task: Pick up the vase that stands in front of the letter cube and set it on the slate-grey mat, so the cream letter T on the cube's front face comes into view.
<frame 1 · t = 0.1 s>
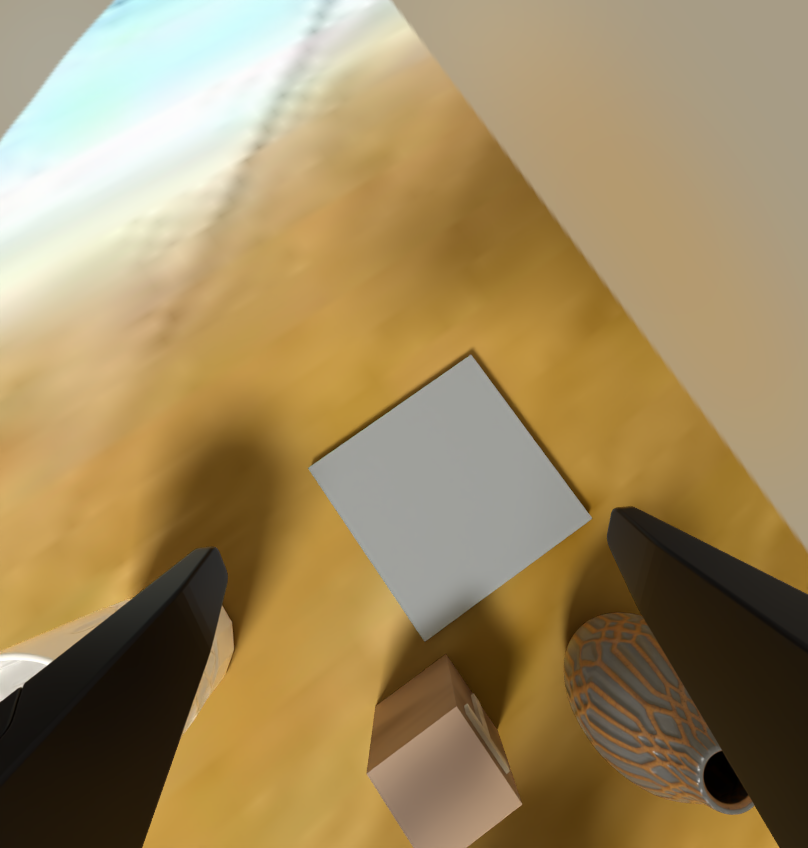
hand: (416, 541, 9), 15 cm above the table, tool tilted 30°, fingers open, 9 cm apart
letter cube: (436, 716, 23), on the table
vase: (605, 656, 23), on the table
white cup: (180, 640, 23), on the table
grey mat: (447, 492, 24), on the table
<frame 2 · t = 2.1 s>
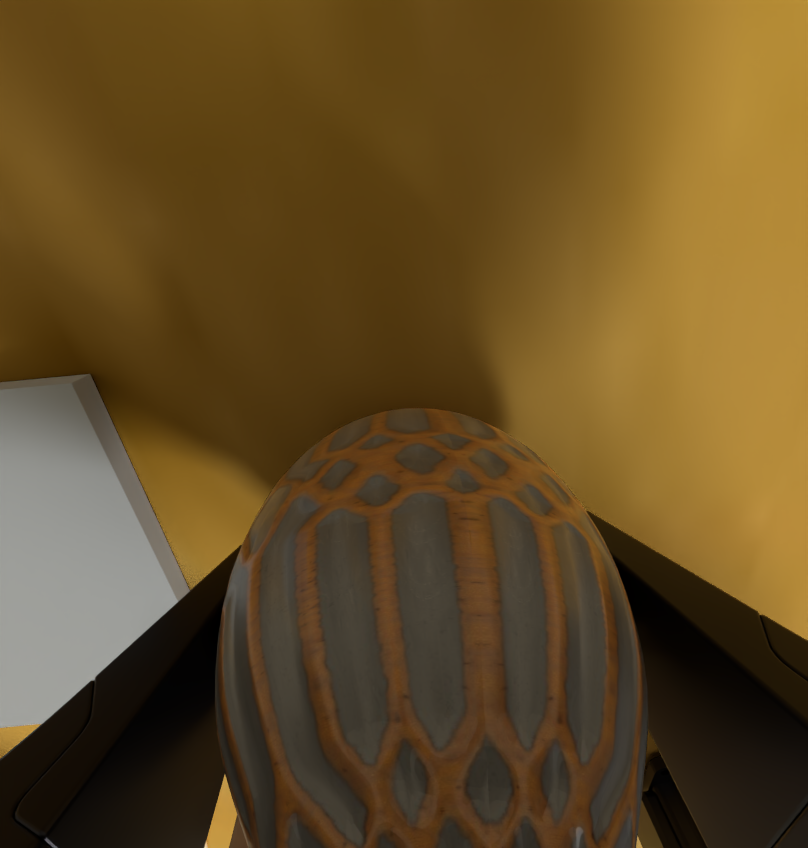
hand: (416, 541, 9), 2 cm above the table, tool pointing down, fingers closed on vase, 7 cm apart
letter cube: (351, 704, 15), on the table
vase: (409, 484, 11), on the table, touching gripper
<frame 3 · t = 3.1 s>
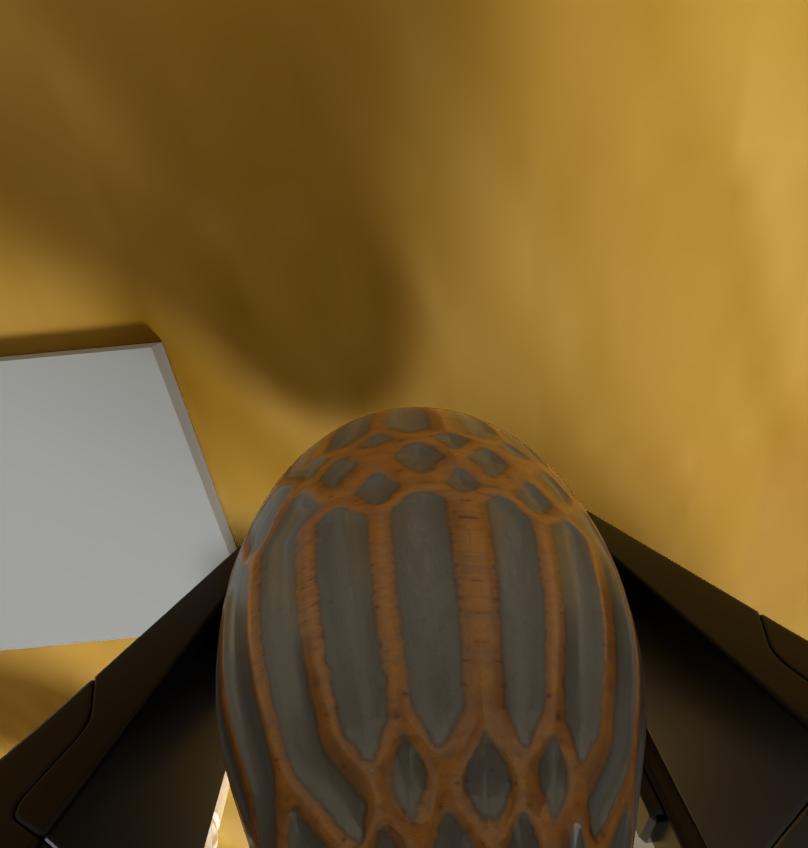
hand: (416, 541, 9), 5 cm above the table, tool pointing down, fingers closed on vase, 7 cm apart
vase: (409, 483, 11), point 3 cm above the table, touching gripper
white cup: (173, 763, 23), on the table
grey mat: (56, 518, 14), on the table
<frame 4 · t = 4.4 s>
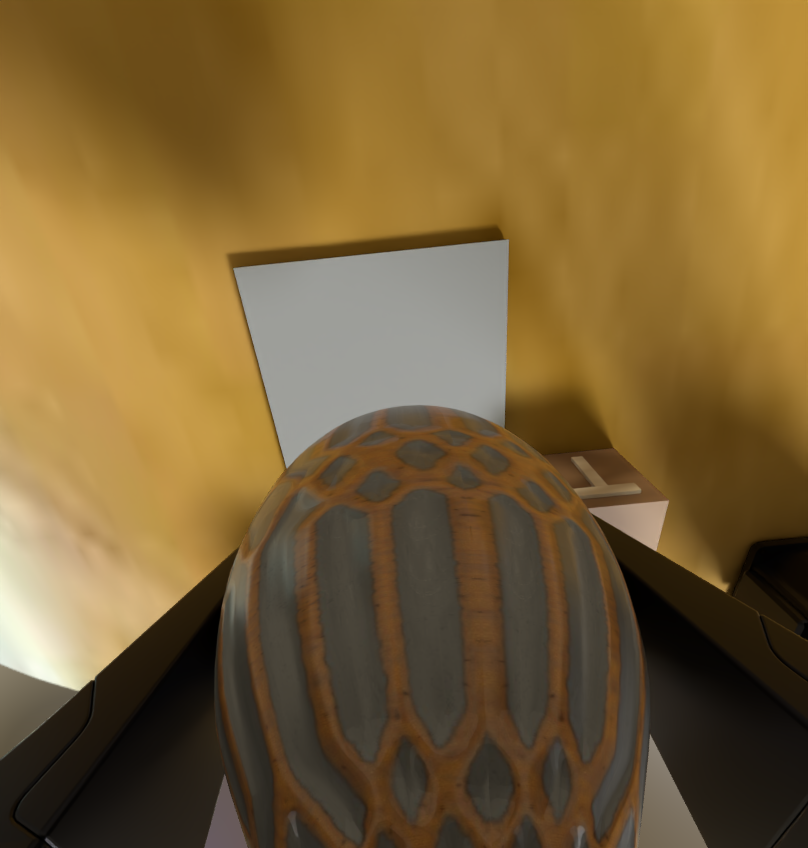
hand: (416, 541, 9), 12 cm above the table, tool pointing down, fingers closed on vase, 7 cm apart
letter cube: (565, 487, 24), on the table
vase: (410, 482, 11), point 10 cm above the table, touching gripper
grey mat: (386, 380, 20), on the table
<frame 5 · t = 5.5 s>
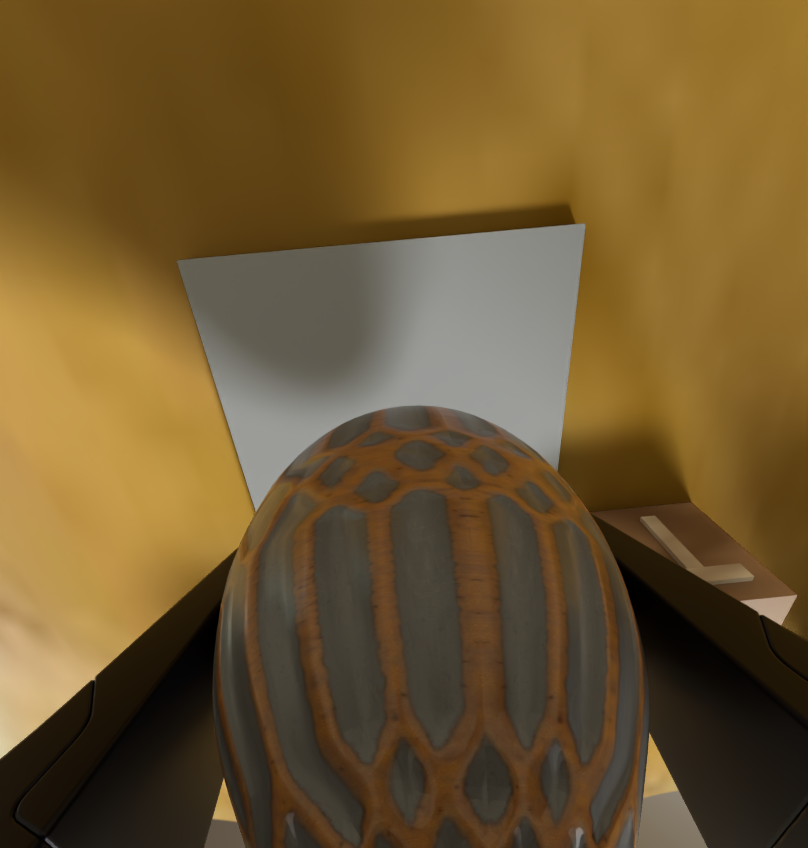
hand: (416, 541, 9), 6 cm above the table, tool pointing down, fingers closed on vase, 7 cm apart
letter cube: (624, 548, 18), on the table
vase: (409, 482, 11), point 4 cm above the table, touching gripper
grey mat: (399, 417, 15), on the table
when the fingers open (4 cm above the table, at t = 6.5 s): vase drops 1 cm, resting on grey mat.
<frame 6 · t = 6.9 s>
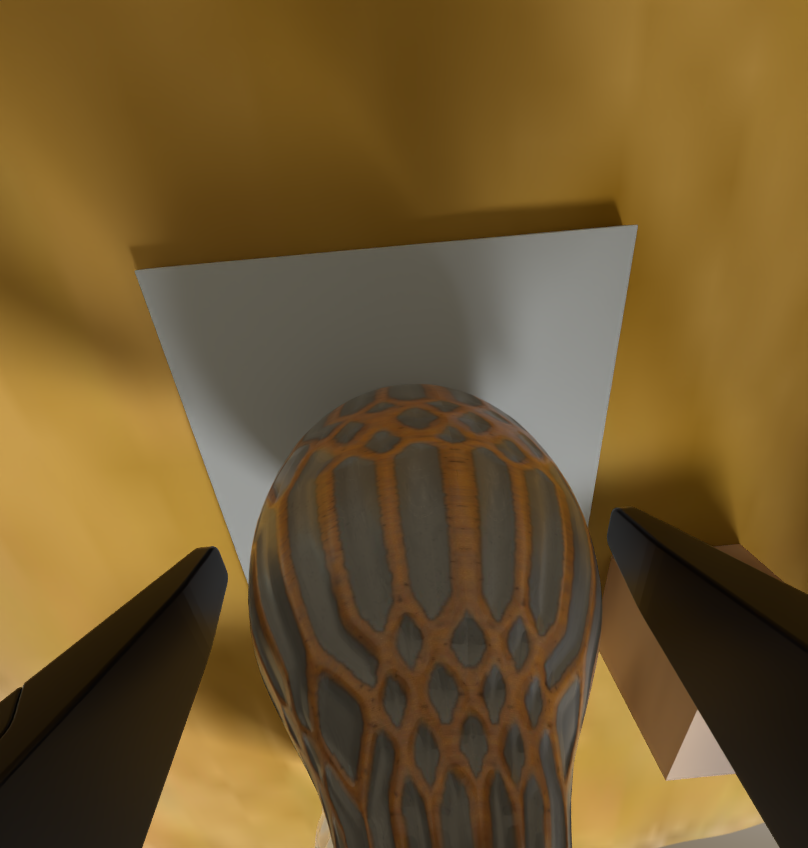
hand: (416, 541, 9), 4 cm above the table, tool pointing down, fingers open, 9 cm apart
letter cube: (660, 593, 16), on the table
vase: (407, 457, 12), resting on grey mat
white cup: (394, 746, 21), on the table
grey mat: (405, 452, 12), on the table
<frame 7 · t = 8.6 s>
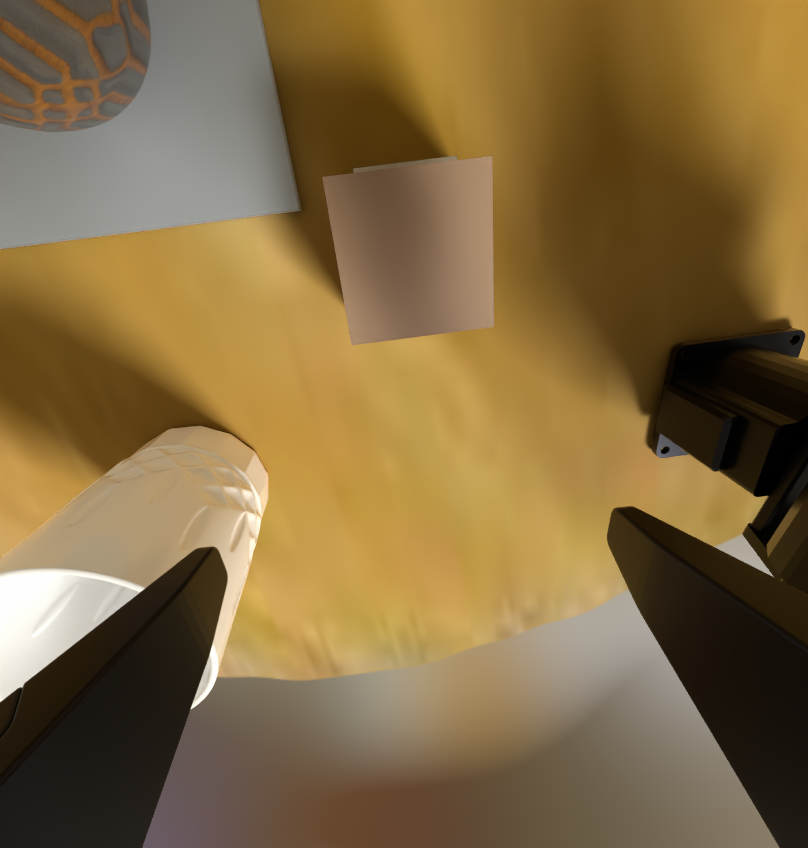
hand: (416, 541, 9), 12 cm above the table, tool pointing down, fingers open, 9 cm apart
letter cube: (404, 251, 17), on the table
vase: (75, 24, 13), resting on grey mat
white cup: (207, 477, 21), on the table
grey mat: (82, 31, 13), on the table
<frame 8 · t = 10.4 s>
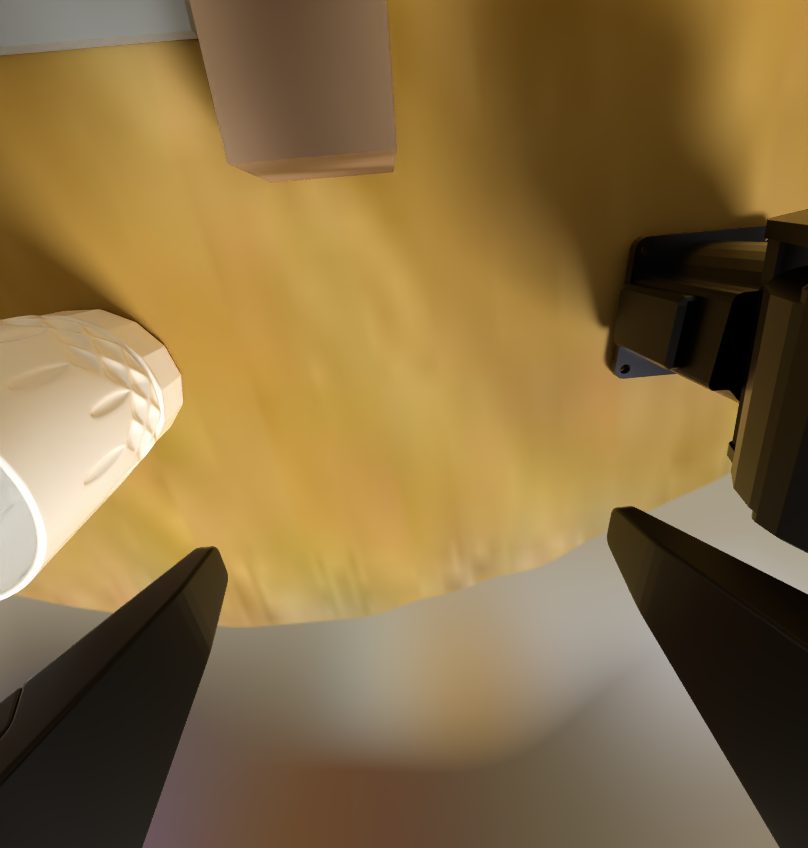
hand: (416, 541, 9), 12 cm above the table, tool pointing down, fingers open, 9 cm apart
letter cube: (321, 100, 15), on the table
white cup: (115, 376, 19), on the table
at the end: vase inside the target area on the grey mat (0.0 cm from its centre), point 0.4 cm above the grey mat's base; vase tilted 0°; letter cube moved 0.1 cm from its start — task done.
